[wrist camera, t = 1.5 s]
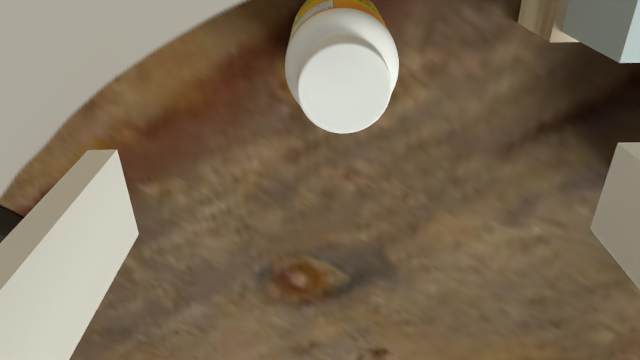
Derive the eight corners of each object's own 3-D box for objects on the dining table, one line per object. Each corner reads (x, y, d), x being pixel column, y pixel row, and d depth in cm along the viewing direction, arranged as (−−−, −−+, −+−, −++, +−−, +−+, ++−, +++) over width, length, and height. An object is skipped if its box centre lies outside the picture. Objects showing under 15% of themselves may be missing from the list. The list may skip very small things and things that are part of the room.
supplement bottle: (400, 46, 29) (433, 106, 20) (325, 95, 30) (327, 169, 22) (350, -35, 26) (365, -5, 18) (273, 23, 28) (253, 75, 20)
